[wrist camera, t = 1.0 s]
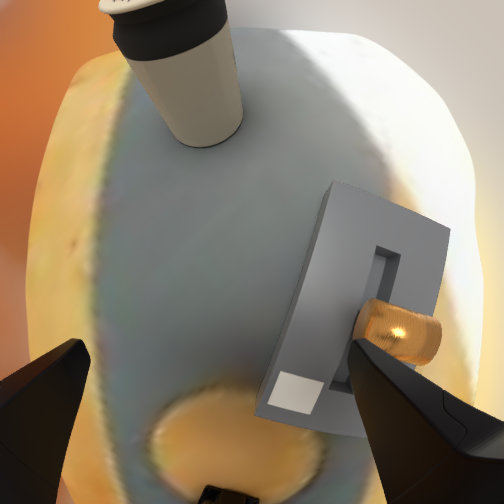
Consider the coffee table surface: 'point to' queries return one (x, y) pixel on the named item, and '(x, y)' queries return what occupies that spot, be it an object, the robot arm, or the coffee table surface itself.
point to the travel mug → (182, 63)
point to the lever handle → (399, 331)
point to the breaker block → (347, 303)
